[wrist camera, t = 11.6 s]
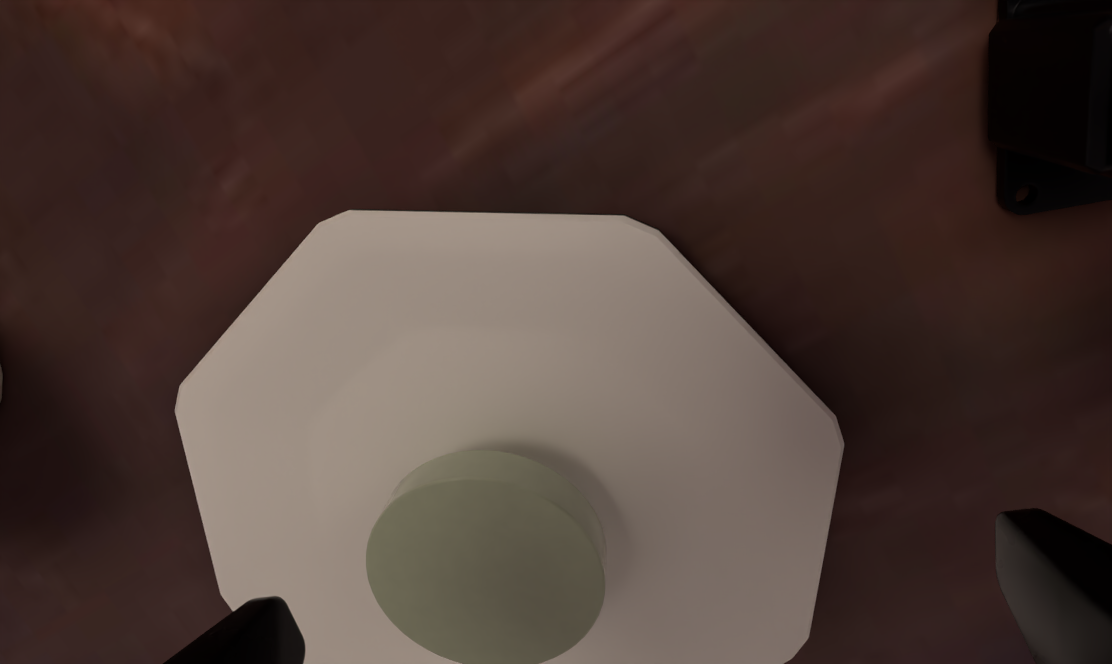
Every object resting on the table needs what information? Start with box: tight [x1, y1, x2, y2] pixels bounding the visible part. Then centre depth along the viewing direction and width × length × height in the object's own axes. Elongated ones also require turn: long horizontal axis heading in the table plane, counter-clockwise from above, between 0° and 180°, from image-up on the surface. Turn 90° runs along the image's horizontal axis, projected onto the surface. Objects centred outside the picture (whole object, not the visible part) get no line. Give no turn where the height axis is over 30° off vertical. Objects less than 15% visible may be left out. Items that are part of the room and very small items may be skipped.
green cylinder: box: [366, 450, 607, 664], centre depth 20 cm, size 7×7×2 cm
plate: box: [175, 209, 844, 664], centre depth 22 cm, size 20×20×2 cm
